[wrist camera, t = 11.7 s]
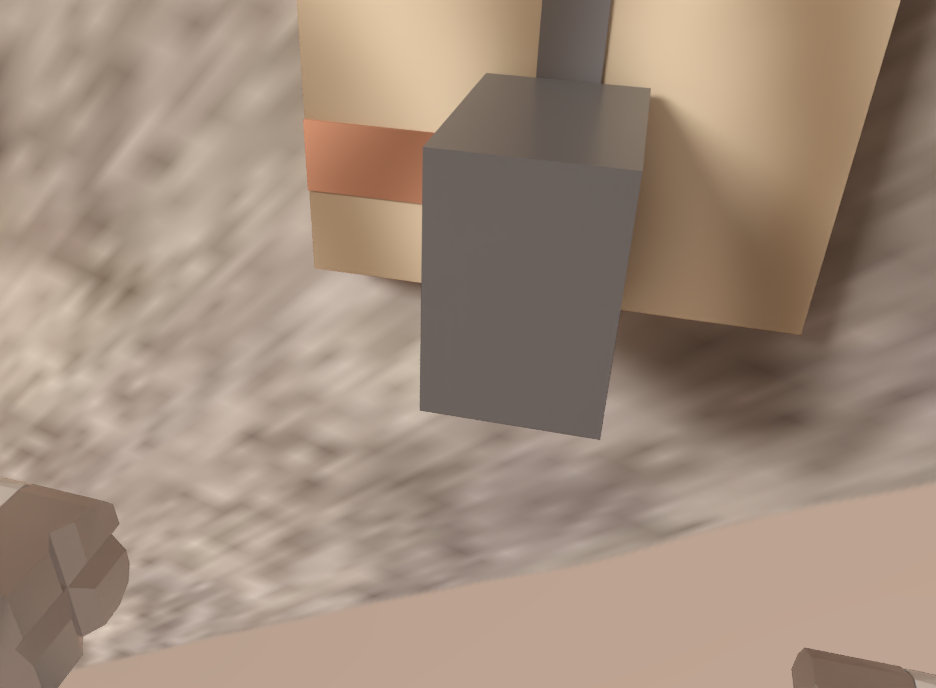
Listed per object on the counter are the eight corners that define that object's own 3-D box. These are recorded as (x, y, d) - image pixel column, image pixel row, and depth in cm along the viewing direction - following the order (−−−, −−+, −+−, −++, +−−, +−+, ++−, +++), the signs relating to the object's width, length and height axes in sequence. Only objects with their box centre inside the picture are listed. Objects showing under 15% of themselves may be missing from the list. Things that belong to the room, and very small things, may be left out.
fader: (651, 88, 19) (643, 171, 14) (616, 308, 22) (600, 439, 17) (485, 72, 20) (422, 147, 15) (475, 289, 23) (419, 410, 18)
